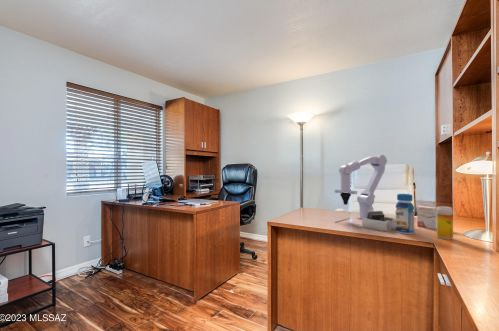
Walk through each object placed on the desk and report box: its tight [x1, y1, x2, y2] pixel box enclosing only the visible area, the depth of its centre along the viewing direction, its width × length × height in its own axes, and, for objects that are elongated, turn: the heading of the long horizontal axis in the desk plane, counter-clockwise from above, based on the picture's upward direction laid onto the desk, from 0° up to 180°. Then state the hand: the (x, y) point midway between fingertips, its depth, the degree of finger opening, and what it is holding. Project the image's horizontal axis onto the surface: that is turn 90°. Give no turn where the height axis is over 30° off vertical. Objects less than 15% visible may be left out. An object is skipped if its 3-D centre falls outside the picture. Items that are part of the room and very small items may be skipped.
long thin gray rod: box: [334, 217, 350, 224], centre depth 155 cm, size 18×1×1 cm, turn 130°
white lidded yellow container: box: [436, 205, 454, 241], centre depth 116 cm, size 6×6×15 cm
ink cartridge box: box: [416, 200, 437, 230], centre depth 138 cm, size 9×5×15 cm, turn 47°
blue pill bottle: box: [394, 193, 415, 235], centre depth 127 cm, size 8×8×20 cm
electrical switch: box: [366, 210, 386, 221], centre depth 139 cm, size 9×5×9 cm, turn 95°
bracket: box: [361, 216, 396, 232], centre depth 138 cm, size 14×13×6 cm
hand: (345, 204), depth 158 cm, fingers closed
